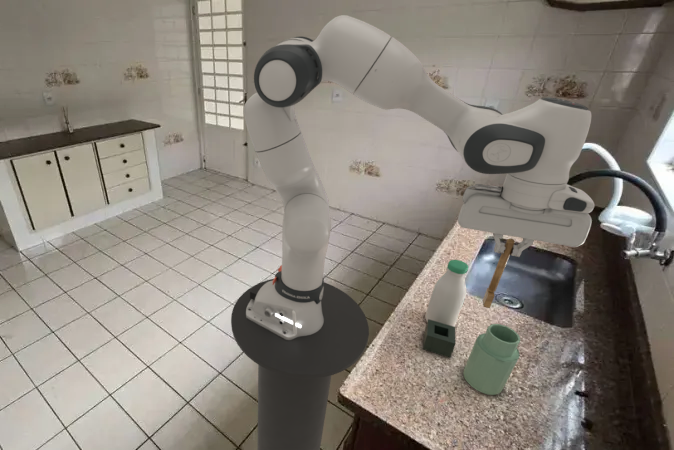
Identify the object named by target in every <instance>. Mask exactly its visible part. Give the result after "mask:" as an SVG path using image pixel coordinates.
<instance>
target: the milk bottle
mask: <svg viewBox="0 0 674 450" xmlns="http://www.w3.org/2000/svg"><path fill="white" fill-rule="evenodd" d="M468 271H469V265H468V264H467V263H466V262H465V261H463V260H459V259H451V260H449V261H448V263H447V266H446V271H445V273H444V274H443V275H442V276H440V278H438V279H437V281H436V282H435V284H434V287H433V290H432V292H431V295H430V298H429V301H428V305H427V309H426V312H425V315H424V318H425V321H426V323H427V322H428V319H429V320H433V321H436V322H440V323H443V324H447V325H450V326H454V327H455V328H456V324H457V322H458V319H459V316H460V314H461V310H462V308H463V305H464V302H465V300H466V297H467V285H466V281H465V280H466V279H465V276H466V275H467V273H468Z"/></svg>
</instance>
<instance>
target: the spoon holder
mask: <svg viewBox="0 0 674 450" xmlns="http://www.w3.org/2000/svg"><path fill="white" fill-rule="evenodd" d="M422 340H423V342H422V350H424V351H427V352H430V353H434V354H436V355H441V356H443V357H446V358H451V357H452V355H453V351H454V349H455V347H456V326H455V327H454V326H450V325H447V324H443V323H440V322H436V321H433V320H429V319H428V322H427V321H426V324H425V328H424V331H423V339H422Z"/></svg>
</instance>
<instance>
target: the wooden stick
mask: <svg viewBox="0 0 674 450" xmlns="http://www.w3.org/2000/svg"><path fill="white" fill-rule="evenodd" d="M504 243H505V246H506V248H505V250H504V253H503V254H502V253H500V257H499V259H498V261H497V264H496V267H495V269H494V272H493V275H492V277H491V280H490V282H489V284H488V287H487V288H486V291H485V293H484V296H483V298H482V306H483V308H486V309H490V308H491V306H492V304H493V301H494V298H495V295H496V294H495V292H496V291H497V289H498V286H499V284H500V281H501V278H502V276H503V274H504V271H505V268H506V266H507V263H508V262H509V258H510V256H511V255H510V254H511V251H512V249H513V246H514V245H516V244H515V243H516V241H515V239H513V238H511V237H510V238H507V239H506V241H505V242H504Z"/></svg>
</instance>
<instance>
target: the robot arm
mask: <svg viewBox="0 0 674 450" xmlns="http://www.w3.org/2000/svg"><path fill="white" fill-rule="evenodd" d="M253 72H254V73H253V83H254V89H255V90H256V92H255V93H253V94H252V95H251V96H250V97H249V98H248V99H247V100H246V102H245V103H244V105H243V117H244V123H245V126H246V130H247V133H248V137H249V139H250V142H251V145H252V147H253V150H254V152H255V154H256V156H257V159H258V162H259V163H260V166H261V168H262V171H263V173H264V176H265V178H266V180H267V183H269V184H270V185H271V186H272V187H273V188H274V191H276V193H277V195H278V196H279V198H280V200H281V203H282V206H283V218H282V227H281V228H282V229H281V232H282V233H281V252H282V253H281V265H280V266H279V267H278V268H277V271H278V272H276V273H275V274H274V278H272V279H273V281H269V282H267V283H266V284H264V285H263V284H261V282H258V283H257V285H256V284H255V285H256V286H255V287H254V288H253V289H252V290H251V291H250V298H251V300H250V302H249V304H248V306H247V308H246V318H248V319H249V320H251V321H253V322H255V323H257V324H258V325H260V326H262V327H264V328H266V329H268V330H269V331H271V332H273V333H275V334H277V335H279V336H280V337H282V338H284V339H286V340H292V339H294V338H296V337H299V336H307V335H311V334H314V333H316V332H317V331H319V330H320V329H321V327H322V326H323V323H324V318H323V314H322V308H321V299H322V297H323V290H324V282H325V279H324V272H325V271H324V270H325V261H326V255H327V251H328V247H329V243H330V236H331V230H332V220H331V210H330V201H329V200H330V199H329V196H328V195H327V191H326V190H325V187H324V184H323V182H322V180H321V178H320V176H319V173H318V171H317V169H316V167H315V165H314V163H313V159H312V157H311V154H310V151H309V149H308V147H307V144H306V141H305V138H304V136H303V135H304V134H303V132H302V130H301V127H300V125H299V123H298V119H297V116H296V111H295V109H296V108H295V106H296V105H297V104H298V103H300V102H301V101H302V100H304V99H305V98H306V97H307V96H308V95H309V94H311V92H312V91H314V89H315V88H317V87H318V85H320V84H321V83H322V82H330V83H334V84H336V85H338V86H340V87H341V88H343V89H344V90H346V91H347V92H349V93H351V94H352V95H353V96H354V97H356V98H357V99H360V100H361V101H363V102H365V103H367V104H369V105H372V106H374V107H376V108H379V109H381V110H386V111H388V110H396V109H399V110H407V111H409V112H412V113H414V114H416V115H417V116H420V117H421V118H423V119H424V120H425V121H427V122H429V123H431V125H433V126H435V127H437V128H438V129H440V130H442V131H443V133H445V135H446V136H447V138H448V140H449V143H450V144H451V146H452V147H453V149H454V150H455V151H456V152H457V153H458V154H459V155H460V157H461V159H462V160H463V162H464V163H465V164H466V165H467V166H468V167H469V168H470V169H471V170H473V171H475V172H476V173H479V174H483V175H484V174H485V175H505V174H506V176H505V179H504V181H503V184H502V186H500V185H485V184H483V183H475V184H474V185H469V186H468V187H466V188H465V189H464V191H463V195H462V202H463V203H462V205H461V207H460V210H459V211H458V215H457V223H458V225H459V226H460V227H461V228H463V229H469V230H472V231H473V230H474V231H479V232H486V233H492V235H493V239H494V242H495V244H494V247H493V250H494V253H497V254H503V253H504V250H505V248H506V246H505V243H506V242H502V241H501V240H502V239H503V237H504V236H507V237H514V238H518V239H519V238H520V239H522V240H521V241H520V242H519V243H518V244H514V246H513V249H512V251H511V254H510V256H513V257H518V258H520V257H521V255H522V252H523V251H524V250H526V249H528V248H529V247H531V246H532V245H533V244H534V241H537V242H542V243H547V244H554V245H559V246H560V245H561V246H566V247H571V248H577V247H579V246H581V245H583V244H584V243H585V242H586V239H587V238H588V235H589V232H590V230H591V227H592V217H591V215H590V213H592V212H593V210H594V208H595V202H594V200H593V199H592V198H591V197H590V195H588V193H586V192H585V191H584V190H583V189H580V188H578V187H575V186H572V185H570V184H568V182H569V179H570V171H571V168H572V166H573V165H574V163H575V162H576V161H577V160H578V159H579V157H580V155H581V153H582V150H583V148H584V145H585V142H586V139H587V138H588V134H589V130H590V127H591V123H592V111H591V110H590V108H588V107H587V106H586V105H583V104H581V103H578V102H573V101H570V100H568V99H567V100H566V99H562V98H558V97H541V98H539V99H537V100H536V101H534V102H532V103H531V104H529V105H526V106H524V107H522V108H520V109H517V110H514V111H511V112H507V113H504V114H503V113H502V112H500V110H498V109H496V108H494V107H489V106H485V105H475V104H469V103H468V102H465V101H464V100H461V99H460V98H458V97H457V96H455V95H454V94H453V93H451V92H449V91H448V90H446V89H445V88H443V87H441V86H440V85H439V84H437V83H436V82H435V81H434V80H433V79H432V78H431V77H430V76H429V74H428V73H427V72H426V69H425V68H424V65H423V63H422V62H421V60H420V59H419V58H418V57H417V56H416V55H415V53H413V52H412V51H411V50H410V49H409V48H408V47H407V46H405V44H403V43H402V42H401V41H399V40H398V39H397V38H395V37H394V36H391V35H390V34H388V32H385V31H383V30H382V29H381V28H378V27H376V26H375V25H373V24H371V23H368V22H367V21H363V20H361V19H359V18H356V17H354V16H350V15H347V14H342V15H338V16H335V17H333V18H332V19H331V20H330V21H328V22H327V23H326V24H325V25H324V26H323V28H322V29H321V30H320V32H319V33H318V36H317V37H316V38H315V39H314V40H313V39H311V38H310V37H307V36H293V37H291V38H287V39H283V40H281V41H279V42H278V43H276V44H275V45H274V46H273V47H270V48H269V49H267V50H266V51H265V52H263V54H262V55H261V57H259V59H258V61H257V63H256V65H255V68H254V71H253Z"/></svg>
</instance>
